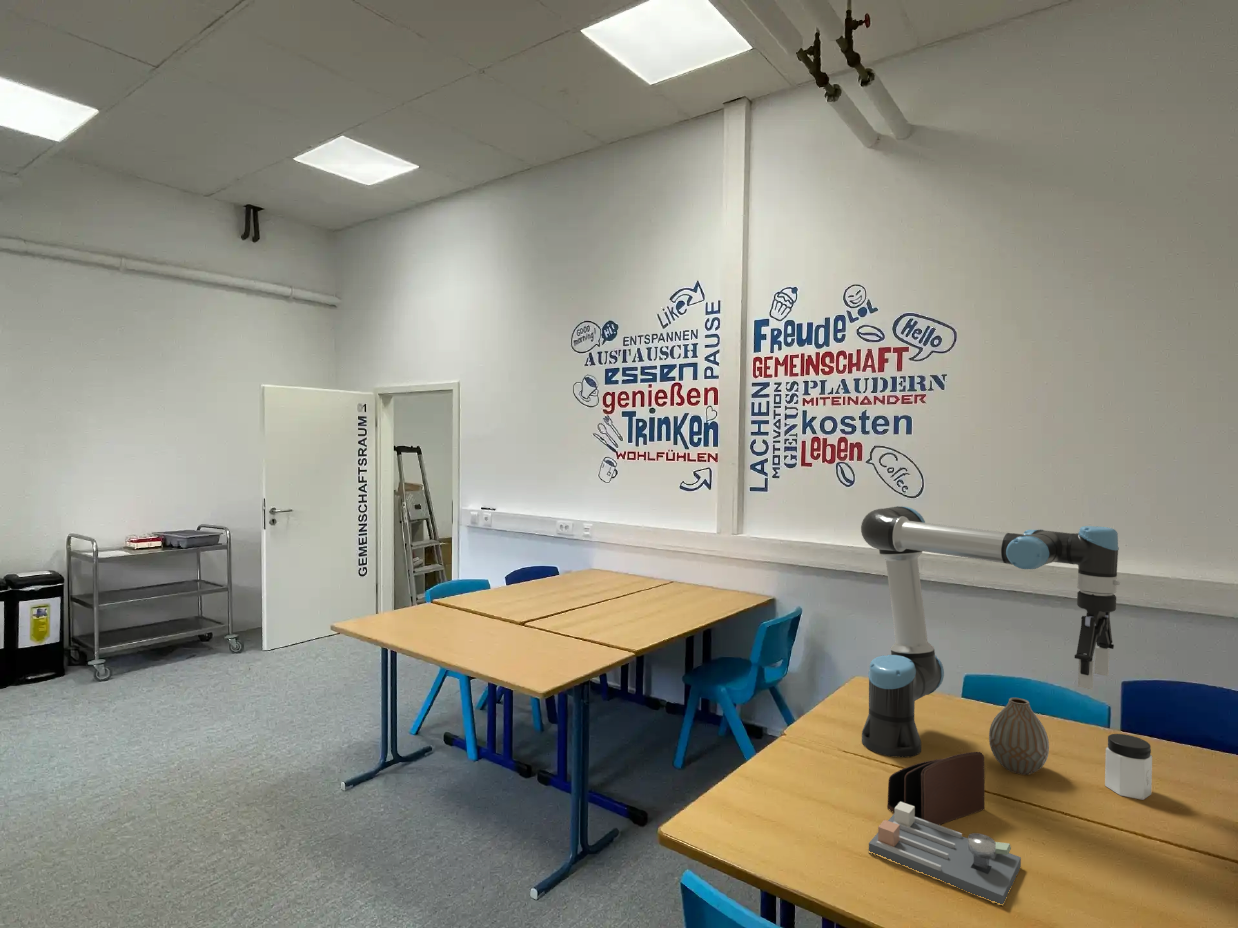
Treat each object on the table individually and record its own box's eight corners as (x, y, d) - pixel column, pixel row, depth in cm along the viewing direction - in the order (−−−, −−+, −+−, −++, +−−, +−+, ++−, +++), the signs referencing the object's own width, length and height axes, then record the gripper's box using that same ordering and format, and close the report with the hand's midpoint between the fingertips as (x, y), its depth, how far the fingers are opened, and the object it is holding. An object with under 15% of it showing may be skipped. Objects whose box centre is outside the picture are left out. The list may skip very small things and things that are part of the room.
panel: (868, 852, 135) (868, 830, 135) (894, 821, 147) (895, 801, 146) (1002, 906, 119) (1003, 881, 119) (1020, 867, 131) (1021, 844, 131)
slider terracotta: (878, 842, 135) (878, 826, 135) (884, 834, 138) (884, 819, 138) (893, 848, 133) (893, 832, 133) (899, 840, 136) (899, 824, 136)
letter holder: (985, 810, 151) (986, 748, 151) (923, 832, 143) (924, 766, 142) (946, 789, 160) (947, 731, 160) (886, 809, 152) (887, 747, 151)
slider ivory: (894, 822, 142) (894, 807, 142) (900, 815, 145) (900, 801, 144) (909, 828, 140) (909, 812, 140) (914, 821, 143) (914, 806, 143)
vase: (1038, 786, 162) (1039, 715, 161) (980, 767, 171) (981, 699, 171) (1055, 769, 170) (1057, 701, 170) (999, 751, 180) (1000, 687, 180)
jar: (1141, 803, 154) (1142, 751, 154) (1100, 788, 161) (1101, 738, 161) (1156, 792, 159) (1157, 742, 159) (1116, 778, 166) (1117, 730, 165)
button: (964, 864, 127) (965, 840, 127) (971, 853, 131) (971, 830, 131) (991, 874, 124) (992, 850, 124) (997, 863, 128) (998, 839, 128)
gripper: (1101, 603, 147) (1097, 698, 148) (1129, 587, 164) (1126, 673, 165) (1061, 597, 153) (1058, 688, 154) (1092, 582, 170) (1089, 665, 170)
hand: (1093, 680), depth 159 cm, fingers open, 13 cm apart
